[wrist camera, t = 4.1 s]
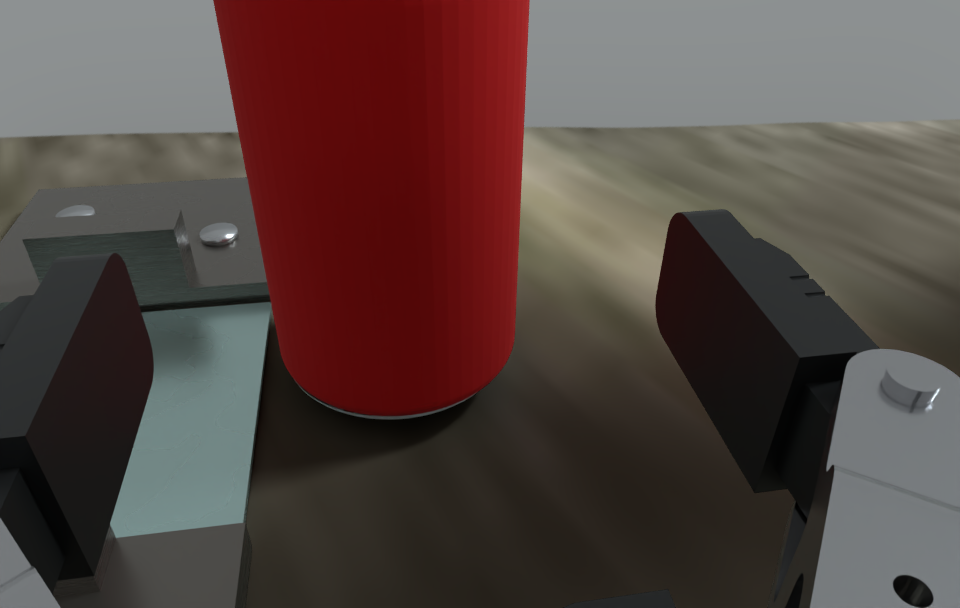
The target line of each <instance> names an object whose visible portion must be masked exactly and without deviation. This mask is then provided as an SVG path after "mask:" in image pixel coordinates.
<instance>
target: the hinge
mask: <svg viewBox="0 0 960 608" xmlns="http://www.w3.org/2000/svg"><path fill="white" fill-rule="evenodd" d="M108 253H117V254H119V255H120V256H121V257H122V259H123V260H124V262H125V264H126V267H127V270H128V273H129V276H130V279H131V282H132V285H133V288H134V291H135V294H136V298H137V301H138V304H139V307H140V310H141V313H142V316H143V319H144V322H145V326H146V329H147V332H148V335H149V338H150V342H151V346H152V351H153V360H154V374H153V382H152V386H151V389H150V393H149V396H148V399H147V403H146V406H145V409H144V413H143V416H142V419H141V423H140V426H139V429H138V433H137V436H136V439H135V443H134V446H133V449H132V453H131V456H130V459H129V463H128V466H127V469H126V473H125V476H124V479H123V482H122V486H121V489H120V492H119V496H118V499H117V502H116V506H115V509H114V512H113V516H112V519H111V522H110V526H109V529H108V532H107V536H106V539H105V542H104V546H103V549H102V552H101V556H100V559H99V562H98V566H97V569H96V572H95V576H91V577H84V578H76V579H68V580H60V581H57V583H56V586H55V589H54V592H53V597H54V598H55V600H56V601H57V603H58V604H59V606H60V607H61V608H245V607H246V598H247V589H248V580H249V571H250V562H251V553H252V545H251V541H250V537H249V534H248V530H247V526H246V523H245V522H246V514H247V506H248V498H249V490H250V482H251V474H252V466H253V458H254V450H255V442H256V434H257V426H258V418H259V410H260V402H261V393H262V385H263V377H264V369H265V361H266V353H267V345H268V337H269V329H270V321H271V313H272V305H271V300H270V295H269V289H268V284H267V279H266V274H265V268H264V263H263V258H262V253H261V247H260V242H259V237H258V232H257V226H256V221H255V216H254V211H253V205H252V200H251V195H250V190H249V184H248V179H247V177H245V178H228V179H211V180H195V181H178V182H161V183H144V184H127V185H110V186H93V187H76V188H60V189H43V190H38V191H37V193H36V194H35V195H34V197H33V198H32V200H31V201H30V202H29V204H28V205H27V206H26V208H25V209H24V210H23V212H22V213H21V215H20V216H19V217H18V219H17V220H16V221H15V223H14V224H13V225H12V227H11V228H10V229H9V231H8V232H7V234H6V235H5V236H4V238H3V239H2V240H1V242H0V311H1V310H2V309H3V308H5V307H6V306H7V305H8V304H10V303H11V302H12V301H14V300H15V299H16V298H17V297H19V296H27V295H34V294H35V292H36V290H37V289H38V287H39V285H40V284H41V282H42V280H43V278H44V277H45V275H46V273H47V272H48V270H49V268H50V266H51V265H52V263H53V262H54V260H55V259H56V258H58V257H67V256H81V255H94V254H108Z"/></svg>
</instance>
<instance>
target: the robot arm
mask: <svg viewBox="0 0 960 608" xmlns="http://www.w3.org/2000/svg"><path fill="white" fill-rule="evenodd" d="M656 318H657V323H658V327H659V330H660V333H661V335H662V337H663V339H664V341H665V342H666V344H667V346H668V347H669V349H670V351H671V352H672V354H673V356H674V357H675V359H676V361H677V363H678V364H679V366H680V368H681V369H682V371H683V373H684V374H685V376H686V378H687V379H688V381H689V383H690V385H691V386H692V388H693V390H694V391H695V393H696V395H697V396H698V398H699V400H700V401H701V403H702V405H703V407H704V408H705V410H706V412H707V413H708V415H709V417H710V418H711V420H712V422H713V423H714V425H715V427H716V429H717V430H718V432H719V434H720V435H721V437H722V439H723V440H724V442H725V444H726V445H727V447H728V449H729V451H730V452H731V454H732V456H733V457H734V459H735V461H736V462H737V464H738V466H739V467H740V469H741V471H742V473H743V474H744V476H745V478H746V479H747V481H748V483H749V484H750V486H751V488H752V489H753V491H754V493H759V492H767V491H775V490H782V489H788V490H789V491H790V493H791V494H792V496H793V497H794V499H795V501H794V503H793V506H792V509H791V511H790V514H789V517H788V521H787V525H786V529H785V533H784V538H783V542H782V546H781V551H780V555H779V559H778V563H777V568H776V572H775V576H774V581H773V585H772V589H771V593H770V598H769V602H768V606H767V608H960V377H958V376H957V375H956V374H954V373H953V372H952V371H950V370H949V369H947V368H946V367H944V366H942V365H940V364H938V363H936V362H934V361H932V360H930V359H927V358H925V357H923V356H919V355H916V354H913V353H909V352H905V351H900V350H893V349H880V348H879V347H878V346H877V345H876V344H875V343H874V342H873V341H872V340H871V339H870V338H869V337H868V336H867V335H866V334H865V333H864V332H863V331H862V330H861V328H860V327H859V326H858V325H857V324H856V323H855V322H854V321H853V320H852V319H851V318H850V317H849V316H848V315H847V314H846V313H845V312H844V311H843V310H842V309H841V308H840V307H839V306H838V305H837V304H836V302H835V301H834V300H833V299H832V298H831V297H830V296H825V291H824V290H823V289H822V288H821V287H820V286H819V285H818V284H817V283H816V282H815V281H814V280H813V279H809V274H808V273H807V272H806V271H805V270H804V269H803V268H802V267H801V266H800V265H799V264H798V263H797V262H796V261H795V260H794V259H793V258H792V257H791V256H790V255H789V254H787V253H786V252H784V251H782V250H780V249H778V248H777V247H775V246H773V245H771V244H770V243H768V242H766V241H764V240H762V239H761V238H756V239H754V238H753V237H752V236H751V235H750V234H749V233H748V232H747V231H746V229H745V228H744V227H743V226H742V225H741V224H740V223H739V222H738V221H737V220H736V219H735V217H734V216H733V215H732V214H731V213H730V212H729V211H727V210H724V209H720V210H707V211H693V212H680V213H676V214H675V215H674V216H673V217H672V219H671V221H670V224H669V227H668V232H667V238H666V244H665V249H664V255H663V260H662V266H661V272H660V277H659V283H658V289H657V294H656ZM153 374H154V360H153V351H152V346H151V342H150V338H149V335H148V332H147V329H146V326H145V322H144V319H143V316H142V313H141V310H140V307H139V304H138V301H137V298H136V294H135V291H134V288H133V285H132V282H131V279H130V276H129V273H128V270H127V267H126V264H125V262H124V260H123V259H122V257H121V256H120V255H119V254H117V253H108V254H94V255H81V256H67V257H58V258H56V259H55V260H54V262H53V263H52V265H51V266H50V268H49V270H48V272H47V273H46V275H45V277H44V278H43V280H42V282H41V284H40V285H39V287H38V289H37V290H36V292H35V294H34V295H27V296H19V297H17V298H16V299H15V300H14V301H12V302H11V303H10V304H8V305H7V306H6V307H5V308H3V309H2V310H1V311H0V608H61V607H60V606H59V604H58V603H57V601H56V600H55V598H54V597H53V592H54V589H55V586H56V583H57V581H60V580H68V579H76V578H84V577H91V576H95V572H96V569H97V566H98V562H99V559H100V556H101V552H102V549H103V546H104V542H105V539H106V536H107V532H108V529H109V526H110V522H111V519H112V516H113V512H114V509H115V506H116V502H117V499H118V496H119V492H120V489H121V486H122V482H123V479H124V476H125V473H126V469H127V466H128V463H129V459H130V456H131V453H132V449H133V446H134V443H135V439H136V436H137V433H138V429H139V426H140V423H141V419H142V416H143V413H144V409H145V406H146V403H147V399H148V396H149V393H150V389H151V386H152V382H153ZM563 608H676V607H675V604H674V602H673V600H672V597H671V595H670V592H669V590H668V589H666V590H659V591H653V592H646V593H639V594H632V595H625V596H618V597H611V598H605V599H598V600H591V601H584V602H577V603H573V604H571V605H568V606H566V607H563Z"/></svg>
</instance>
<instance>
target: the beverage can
mask: <svg viewBox="0 0 960 608" xmlns="http://www.w3.org/2000/svg"><path fill="white" fill-rule="evenodd" d="M213 1H214V6H215V11H216V16H217V22H218V27H219V32H220V37H221V43H222V48H223V53H224V58H225V64H226V69H227V74H228V79H229V85H230V90H231V95H232V100H233V106H234V111H235V116H236V121H237V127H238V132H239V137H240V142H241V148H242V153H243V158H244V163H245V169H246V174H247V179H248V184H249V190H250V195H251V200H252V205H253V211H254V216H255V221H256V226H257V232H258V237H259V242H260V247H261V253H262V258H263V263H264V268H265V274H266V279H267V284H268V289H269V295H270V300H271V305H272V310H273V316H274V321H275V326H276V331H277V337H278V342H279V347H280V352H281V357H282V359H283V362H284V364H285V367H286V368H287V370H288V371H289V373H290V375H291V376H292V377H293V379H294V381H295V382H296V383H297V384H298V386H299V387H300V388H301V389H302V390H303V391H304V392H305V393H306V394H307V395H309V396H310V397H311V398H313V399H314V400H316V401H317V402H319V403H321V404H323V405H324V406H326V407H329V408H331V409H333V410H336V411H339V412H342V413H345V414H348V415H353V416H357V417H363V418H370V419H407V418H414V417H420V416H425V415H429V414H433V413H436V412H440V411H443V410H445V409H448V408H451V407H453V406H455V405H457V404H459V403H461V402H463V401H465V400H467V399H468V398H470V397H472V396H473V395H475V394H476V393H477V392H478V391H480V390H481V389H482V388H484V387H485V386H486V385H488V384H489V383H490V382H491V381H492V380H493V379H494V378H495V377H496V376H497V375H498V373H499V372H500V371H501V370H502V368H503V367H504V365H505V364H506V362H507V360H508V358H509V356H510V354H511V351H512V348H513V344H514V337H515V317H516V294H517V271H518V249H519V226H520V203H521V181H522V158H523V135H524V113H525V90H526V88H525V87H526V67H527V44H528V22H529V0H213Z"/></svg>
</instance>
